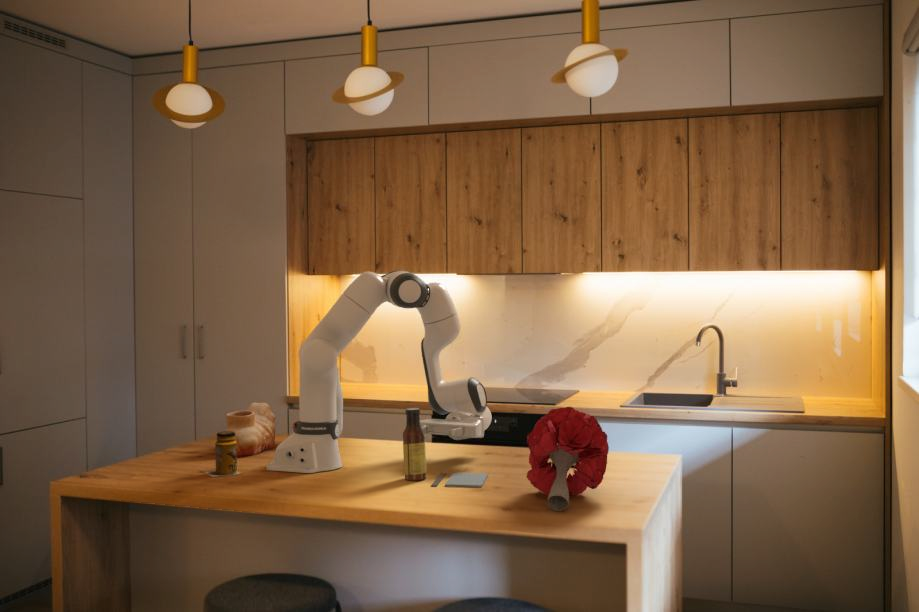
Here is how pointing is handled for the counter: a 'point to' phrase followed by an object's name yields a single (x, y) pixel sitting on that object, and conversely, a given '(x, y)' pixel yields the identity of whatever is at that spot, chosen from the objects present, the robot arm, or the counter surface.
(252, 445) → the ceramic vessel
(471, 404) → the robot arm
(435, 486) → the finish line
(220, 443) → the condiment
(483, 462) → the counter surface
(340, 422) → the glass bottle
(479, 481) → the mat
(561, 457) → the bouquet
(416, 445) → the sauce bottle
